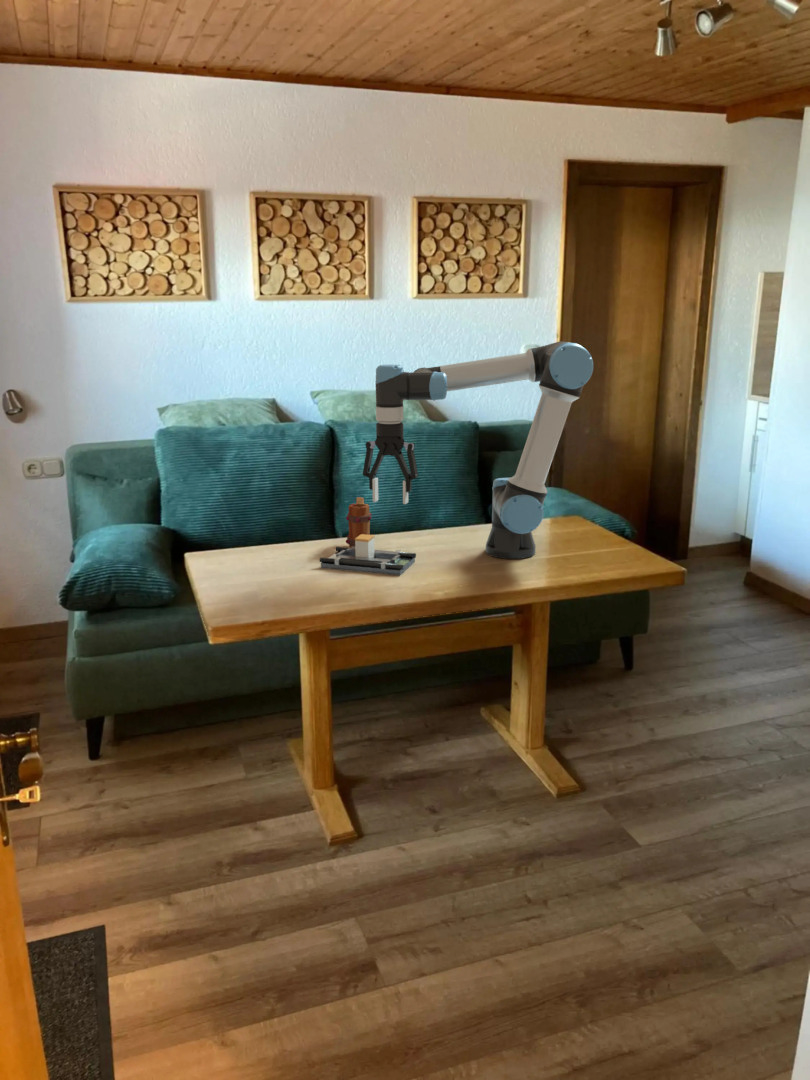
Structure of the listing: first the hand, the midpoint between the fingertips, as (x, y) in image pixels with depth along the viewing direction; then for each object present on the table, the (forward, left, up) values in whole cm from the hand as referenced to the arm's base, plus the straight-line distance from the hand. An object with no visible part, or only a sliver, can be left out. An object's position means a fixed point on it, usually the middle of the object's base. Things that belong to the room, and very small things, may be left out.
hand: (390, 501), depth 242 cm
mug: (+16, -17, -20) cm, 30 cm away
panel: (+7, 0, -19) cm, 21 cm away
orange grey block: (+8, 0, -18) cm, 20 cm away
